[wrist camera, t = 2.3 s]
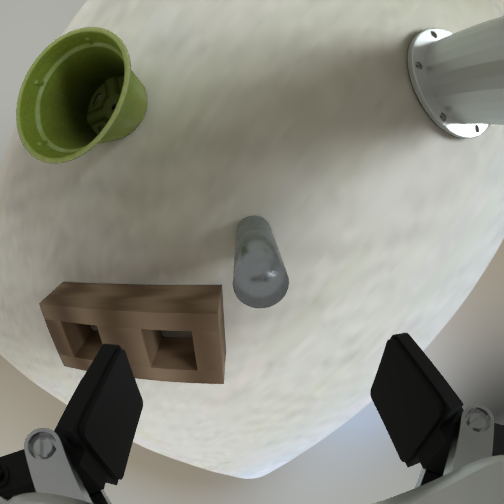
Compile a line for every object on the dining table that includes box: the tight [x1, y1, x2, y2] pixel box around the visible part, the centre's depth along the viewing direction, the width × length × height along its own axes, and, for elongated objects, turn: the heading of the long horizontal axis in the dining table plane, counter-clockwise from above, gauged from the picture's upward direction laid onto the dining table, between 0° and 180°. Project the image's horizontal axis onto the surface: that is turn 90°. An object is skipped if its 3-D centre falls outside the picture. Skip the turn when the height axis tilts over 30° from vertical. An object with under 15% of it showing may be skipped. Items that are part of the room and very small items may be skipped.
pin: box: [233, 216, 289, 308], centre depth 20 cm, size 3×3×10 cm
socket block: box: [39, 282, 226, 384], centre depth 25 cm, size 18×8×5 cm, turn 90°
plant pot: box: [16, 27, 147, 163], centre depth 16 cm, size 9×9×9 cm
